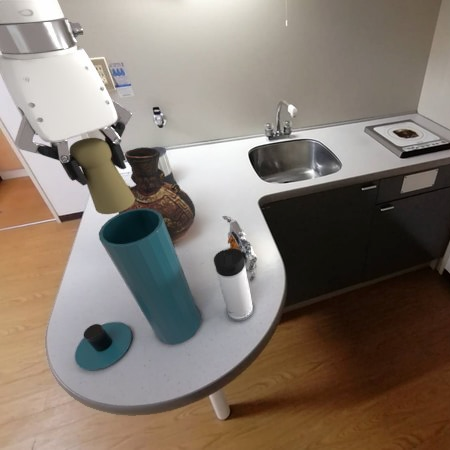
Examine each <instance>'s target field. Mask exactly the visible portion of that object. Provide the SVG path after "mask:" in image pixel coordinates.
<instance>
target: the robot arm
mask: <svg viewBox="0 0 450 450" xmlns="http://www.w3.org/2000/svg"><path fill="white" fill-rule="evenodd" d="M83 35H84V30H83V28H82V26H81V24H80V23H79V22H72V21H69V19H68V18H66V17H65V15H64V12H63V10H62V8H61V5H60V3H59V0H0V53H1V54H0V76H1V79H2V81H3V83H4V86H5V88H6V89H7V91H8V94H9V96H10V98H11V101H13V104H14V106H15V107H16V109H17V111H18V113H19V115H20V117H21V121H20V124H19V127H18V131H17V133H16V136H15V139H14V146H16V148H18V149H19V150H20V151H21V150H22V151H25V152H28V153H33V154H38V155H41V156H44V157H47V158H49V159H53V160H56V161H59V163H60V165H61V167H63V170H64V172H65V173H66V175H67V177H68V178H69V179H70V180H71V181H72V182H74V181H76V182H77V183H79V184H80V185H81V186H87V183H88V182H87V180H86V178H85V176H84V174H83V172H82V169H81V167H80V166H79V165H78V163H77V161H76V160H75V159H73V158H72V157H71V156H70V153H69V150H70V148H69V143H68V140H70V139H73V138H76V137H80V136H83V135H86V134H89V133H92V132H96V131H99V132H100V134H101V135H102V136H103V137H104V141H105V142H106V143H107V144H108V145H109V147H110V149H111V154H112V156H111V160H112V162H113V163H114V165H115V167H116V168H117V169H120V170H126V169H127V166H126V163H125V162H126V161H127V160H126V157H125V152H124V150H123V148H122V146H121V143H122V137H123V134H124V132H125V130H126V125H128V123H129V121H130V120H131V118H132V115H133V114H132V111H130V110H129V109H127V108H126V107H124V106H122V105H121V104H119V103H118V102H117V101H115V100H113V98H111V96H110V94H109V91H108V90H107V87H106V86H105V83H104V82H103V80H102V77H101V76H100V73H98V70H97V69H96V67H95V65H94V64H93V61H91V59H90V57H89V55H88V54H87V52H86V51H85V49H84V48H83V47H82V46H80V45H77V43H78V40H77V38H78V37H79V36H83ZM34 136H38V137H39V138H40V139H41V140H42V141H43V142H45V143H49V145H46V144H44V143H39V142H36V141H34Z"/></svg>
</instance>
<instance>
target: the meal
mask: <svg viewBox="0 0 450 450" xmlns="http://www.w3.org/2000/svg"><path fill="white" fill-rule="evenodd" d="M222 218H223V220H225V221H226V223H229V232H228V233H227V238H228V239H227V244H229V246H230V247H229V248H227V249H238V250H240V251H241V252H242V254H243V258H244V263H245V267H246V270H247V271H248V272H251V273H252V275H251V277H250V279H249V280H250V281H252V280H253V279H254V278H256V275H255V272H256V273H257V270H256V268H257V260H258V256H257V255H256V252H255V251H254V248H253V247H252V244H251V242H250V241H249V240H248V239H246V233H245V232H244V229H242V228H241V226H240V224H239V223H238V221H237V220H234V219H232V218H231V217H230V216H227V215H224V216H222ZM250 257H252V259H251V258H250ZM255 270H256V271H255Z"/></svg>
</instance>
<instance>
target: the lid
mask: <svg viewBox="0 0 450 450" xmlns="http://www.w3.org/2000/svg"><path fill="white" fill-rule="evenodd" d="M132 338H133V336H132V331H131V329H130V328H129V326H128V325H127V324H125V323H122V322H120V321H119V322H118V321H111V322H107V323H103V324H99V323H94V324H92V325H89V326H88V327H87V328H86V329H85V330H84V331H83V338H81V340H80V342H79V343H78V345H77V347H76V349H75V354H74V359H75V363H76V364H77V365H78V367H79V368H81V369H83V370H84V371H88V372H89V371H90V372H92V371H93V372H94V371H99V370H103V369H105V368H107V367H110V366H111V365H113V364H115V363H116V362H117V361H119V360H120V359H121V358H122V357H123V356H124V355H125V353H126V352H127V350H128V349H129V347H130V345H131V342H132Z"/></svg>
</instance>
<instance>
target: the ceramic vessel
mask: <svg viewBox="0 0 450 450" xmlns="http://www.w3.org/2000/svg"><path fill="white" fill-rule="evenodd" d="M124 156H125V158H126V160H125V161H126V162H127V163H128V164H129V166H130V168H132V169H133V173H132V172H131V175H130V180H131V181H132V182H133V183H134V184H135V185H134V186H131V185H128V184H127V186H128V187H129V189H130V191H131V192H132V194H133V195H134V197H135V201H134V203H133V204H132V206H130V207H129V208H127V209H126V210H123V211H121V212H118V214H120V213H123V212H125V211H128V210H133V209H138V208H149V209H153V210H156V211H158V212H159V213H160V214H161V215H162V218H163V220H164V223H165V225H166V228H167V230H168V233H169V236H170V238H171V241H172V243H173V244H174V243H176V242H178V241H180V240H181V239H183V238H184V236H186V234H187V233H189V231H190V230H191V228H192V226H193V224H194V222H195V217H196V208H195V207H196V206H195V205H194V202H193V200H192V199H191V197H190V196H189V195H188V193H187V192H185V191H184V190H183V189H182V188H181V187H180V185H179V184H178V183H177V184H168V183H165V182H162V181H163V179H164V178H165V174H164V172H163V171H162V170H160V169H159V168H158V162H159V157H160V152H159V151H158V150H156V149H152V147H143V146H142V147H136V148H132V149H129V150H127V151H125V152H124Z"/></svg>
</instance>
